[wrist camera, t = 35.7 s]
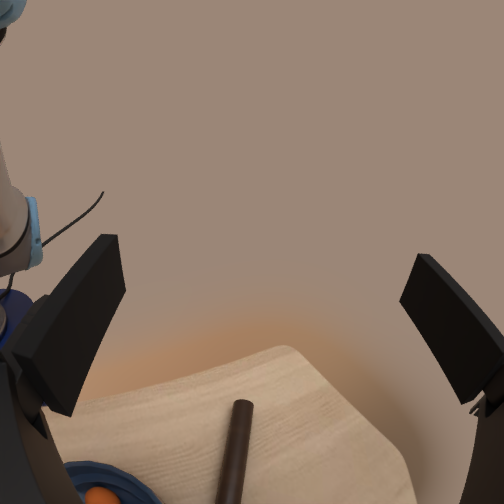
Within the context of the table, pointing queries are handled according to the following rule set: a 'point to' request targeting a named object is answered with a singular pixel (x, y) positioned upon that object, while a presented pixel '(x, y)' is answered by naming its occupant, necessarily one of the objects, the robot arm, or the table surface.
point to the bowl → (109, 482)
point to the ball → (101, 496)
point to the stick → (235, 454)
